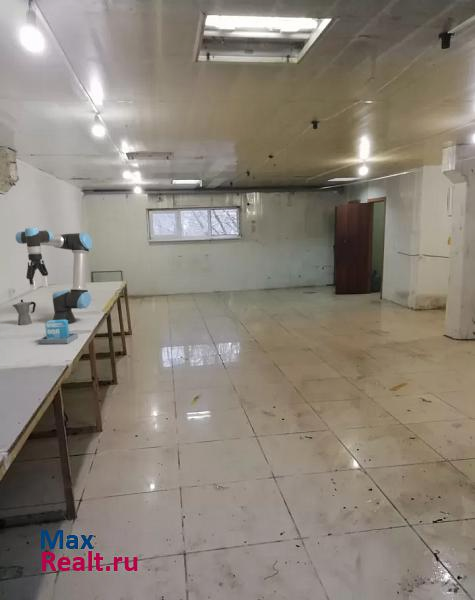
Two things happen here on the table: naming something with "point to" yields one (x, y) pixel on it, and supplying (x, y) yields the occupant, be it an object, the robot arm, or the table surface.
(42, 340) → the tray
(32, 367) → the table surface
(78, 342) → the table surface
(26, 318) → the coffeepot
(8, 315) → the table surface
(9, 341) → the table surface
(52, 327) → the data package
